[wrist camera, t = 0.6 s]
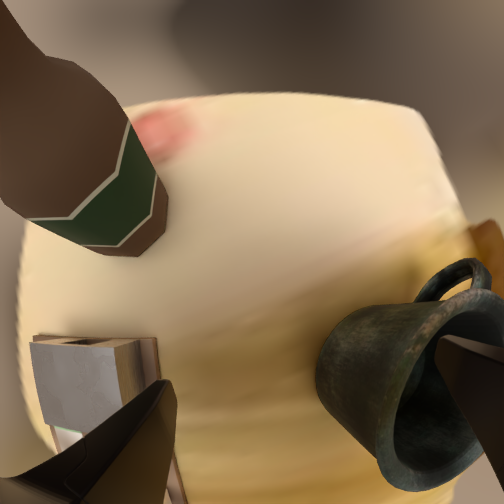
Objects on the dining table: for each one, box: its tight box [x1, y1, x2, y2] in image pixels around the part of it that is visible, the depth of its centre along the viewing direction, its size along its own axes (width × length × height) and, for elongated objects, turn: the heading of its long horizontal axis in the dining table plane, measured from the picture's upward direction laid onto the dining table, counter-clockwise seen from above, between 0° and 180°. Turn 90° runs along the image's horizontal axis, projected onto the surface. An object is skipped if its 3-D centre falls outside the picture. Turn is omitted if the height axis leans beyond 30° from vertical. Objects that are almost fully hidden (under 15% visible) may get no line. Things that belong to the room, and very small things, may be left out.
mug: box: [316, 258, 504, 492], centre depth 15 cm, size 11×15×12 cm
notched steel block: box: [29, 338, 146, 433], centre depth 16 cm, size 6×7×5 cm
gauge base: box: [33, 335, 187, 504], centre depth 18 cm, size 17×12×1 cm
